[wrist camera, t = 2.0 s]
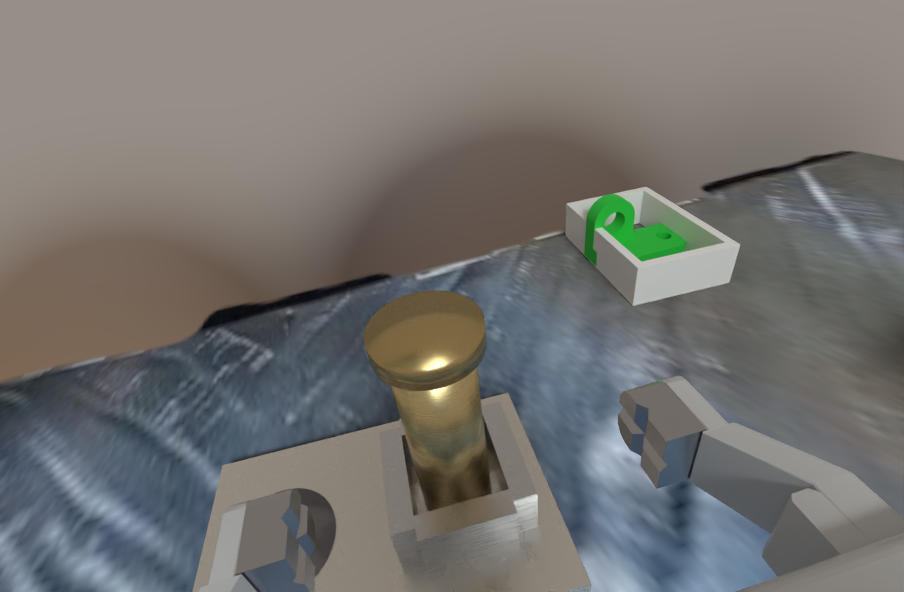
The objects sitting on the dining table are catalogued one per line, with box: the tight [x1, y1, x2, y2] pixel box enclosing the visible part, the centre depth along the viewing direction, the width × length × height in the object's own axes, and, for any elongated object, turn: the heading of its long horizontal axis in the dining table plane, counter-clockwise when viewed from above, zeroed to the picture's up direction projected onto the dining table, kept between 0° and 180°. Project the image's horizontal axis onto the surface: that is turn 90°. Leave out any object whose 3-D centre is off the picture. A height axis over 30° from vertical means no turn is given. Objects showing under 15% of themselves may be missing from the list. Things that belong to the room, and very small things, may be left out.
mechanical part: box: [584, 194, 686, 266], centre depth 55 cm, size 12×6×8 cm, turn 105°
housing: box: [193, 393, 591, 592], centre depth 31 cm, size 25×16×6 cm, turn 102°
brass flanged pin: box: [364, 291, 492, 512], centre depth 28 cm, size 6×6×16 cm
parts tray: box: [565, 187, 740, 306], centre depth 56 cm, size 12×18×5 cm, turn 12°
